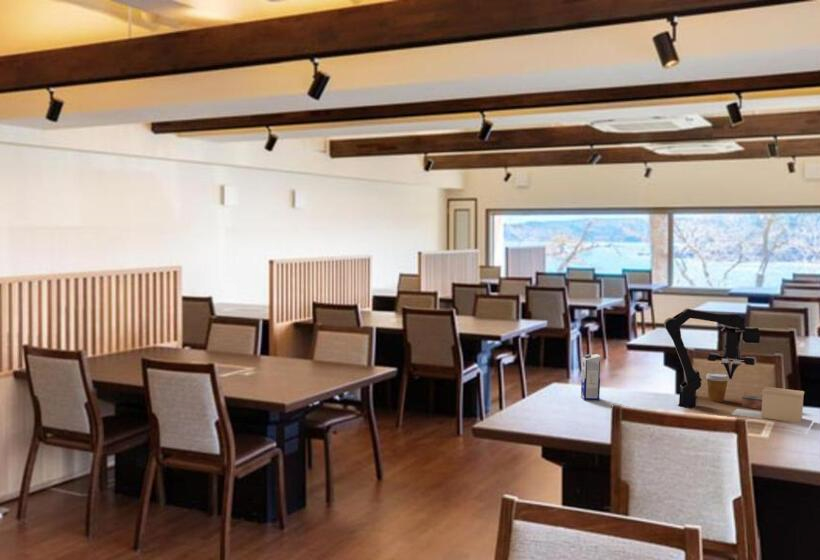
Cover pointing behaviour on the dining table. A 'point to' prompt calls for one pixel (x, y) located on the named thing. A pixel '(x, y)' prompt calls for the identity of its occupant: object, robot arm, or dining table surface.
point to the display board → (747, 413)
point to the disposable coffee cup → (716, 386)
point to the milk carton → (590, 377)
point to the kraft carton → (782, 404)
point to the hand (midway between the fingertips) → (730, 378)
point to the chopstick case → (752, 402)
